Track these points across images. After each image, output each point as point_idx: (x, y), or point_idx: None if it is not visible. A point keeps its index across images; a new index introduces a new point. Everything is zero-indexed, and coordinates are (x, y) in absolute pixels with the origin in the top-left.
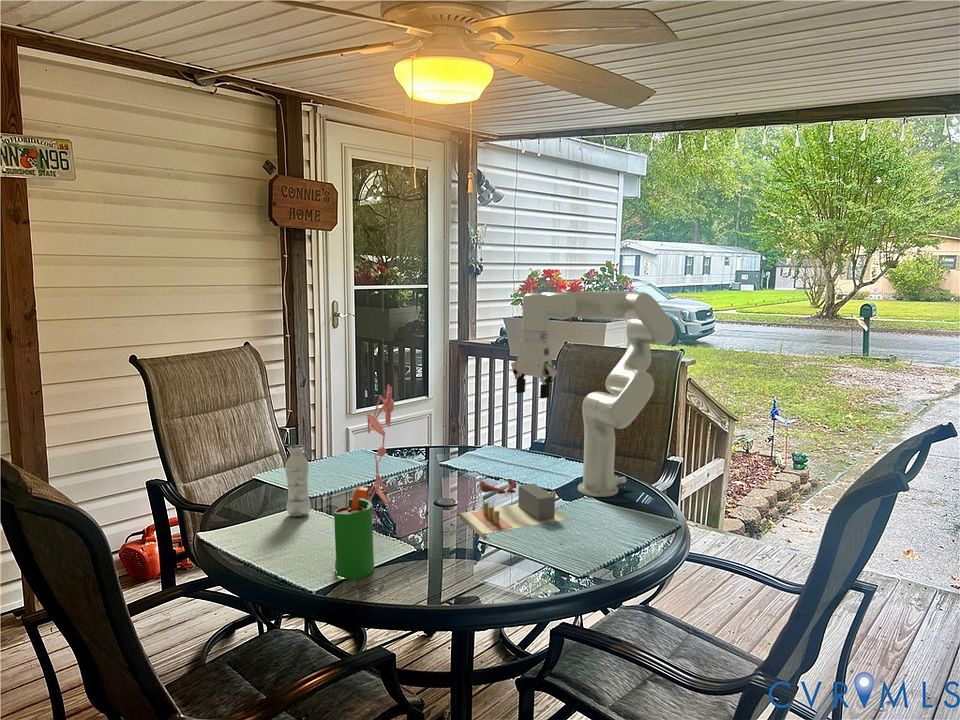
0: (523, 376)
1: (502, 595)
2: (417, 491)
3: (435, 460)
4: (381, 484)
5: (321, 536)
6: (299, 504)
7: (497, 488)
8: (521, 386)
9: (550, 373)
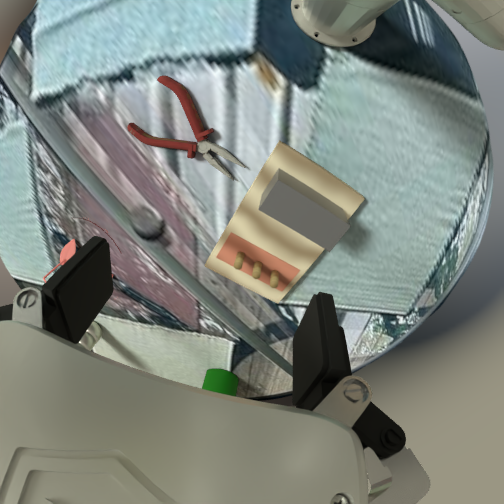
0: (43, 320)
1: (351, 362)
2: (92, 213)
3: (24, 97)
4: (68, 249)
5: (147, 349)
6: (97, 341)
7: (176, 143)
8: (92, 294)
9: (376, 483)
